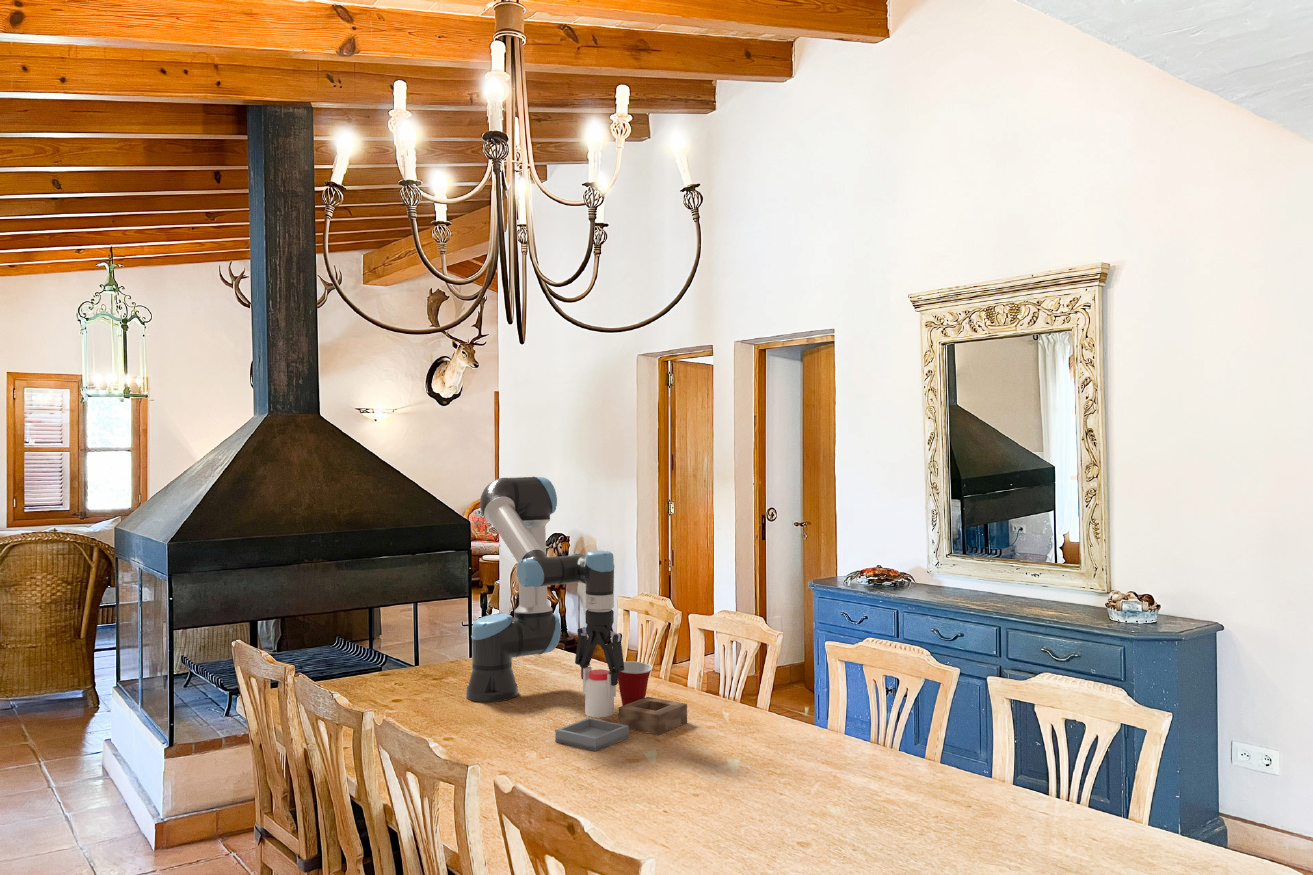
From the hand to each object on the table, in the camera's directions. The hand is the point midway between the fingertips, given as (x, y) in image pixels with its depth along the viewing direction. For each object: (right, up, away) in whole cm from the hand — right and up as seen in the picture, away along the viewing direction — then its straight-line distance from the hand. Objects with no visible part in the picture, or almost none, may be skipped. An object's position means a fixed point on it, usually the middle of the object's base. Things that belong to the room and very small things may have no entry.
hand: (599, 694), depth 247 cm
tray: (-1, -7, -16) cm, 17 cm away
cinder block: (+14, -7, -3) cm, 16 cm away
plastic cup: (+9, -8, +13) cm, 17 cm away
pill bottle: (0, -5, 0) cm, 5 cm away
